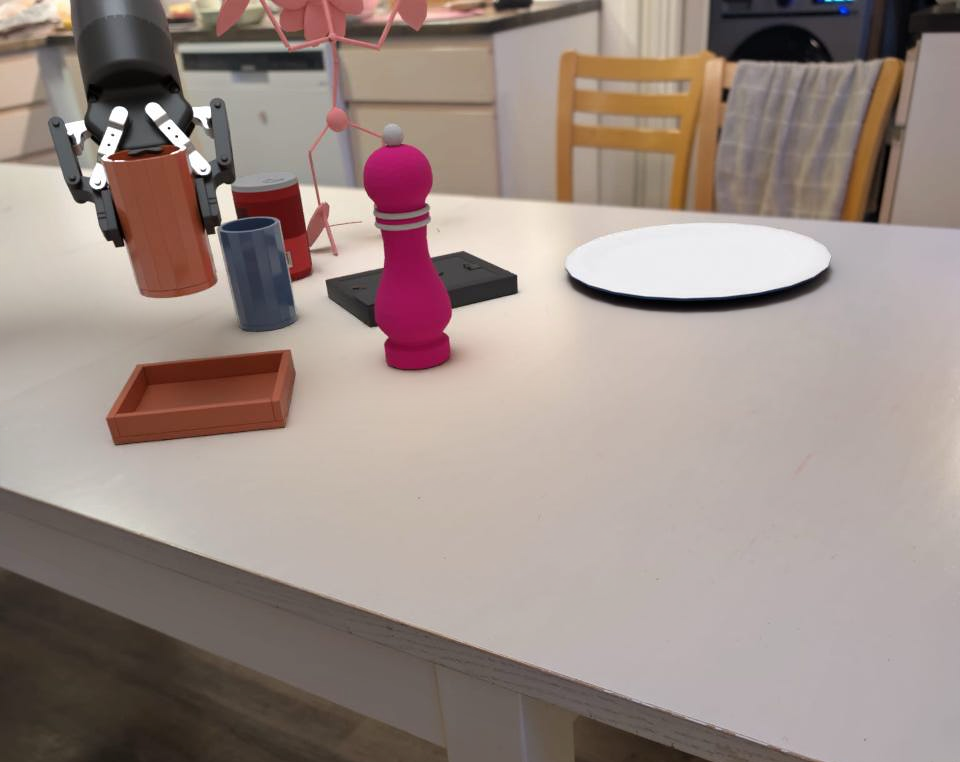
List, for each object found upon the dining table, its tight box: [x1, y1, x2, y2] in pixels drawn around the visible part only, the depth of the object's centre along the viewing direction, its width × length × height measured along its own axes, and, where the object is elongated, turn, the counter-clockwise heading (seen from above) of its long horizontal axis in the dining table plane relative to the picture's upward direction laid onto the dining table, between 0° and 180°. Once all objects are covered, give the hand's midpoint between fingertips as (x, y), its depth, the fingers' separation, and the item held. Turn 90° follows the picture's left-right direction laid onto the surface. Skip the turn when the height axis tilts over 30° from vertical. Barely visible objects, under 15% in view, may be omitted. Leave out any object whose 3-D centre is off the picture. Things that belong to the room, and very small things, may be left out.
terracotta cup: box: [100, 145, 219, 299], centre depth 75 cm, size 6×6×10 cm
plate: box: [564, 222, 833, 302], centre depth 105 cm, size 29×29×2 cm
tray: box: [105, 349, 296, 445], centre depth 83 cm, size 14×12×2 cm
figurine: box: [215, 0, 440, 256], centre depth 119 cm, size 15×26×35 cm, turn 119°
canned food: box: [230, 171, 313, 282], centre depth 113 cm, size 8×8×11 cm
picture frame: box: [325, 250, 519, 328], centre depth 105 cm, size 13×2×18 cm
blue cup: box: [216, 217, 298, 332], centre depth 99 cm, size 6×6×10 cm
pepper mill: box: [362, 123, 453, 370], centre depth 84 cm, size 7×7×20 cm
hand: (164, 234), depth 74 cm, fingers closed on terracotta cup, 6 cm apart
